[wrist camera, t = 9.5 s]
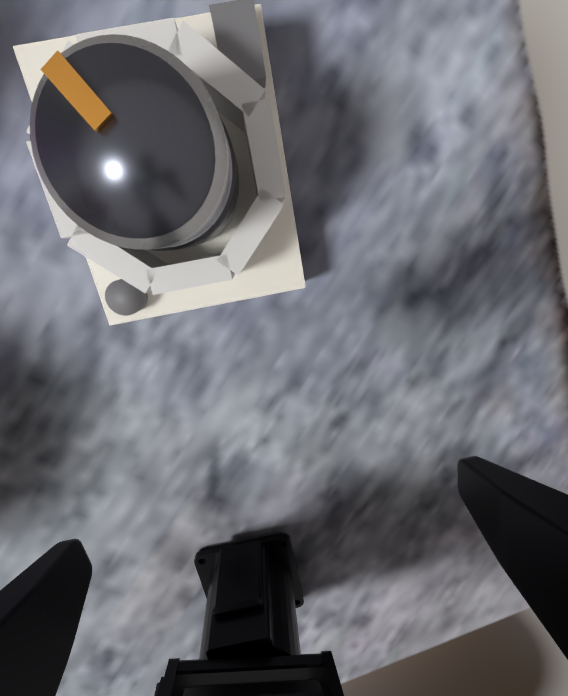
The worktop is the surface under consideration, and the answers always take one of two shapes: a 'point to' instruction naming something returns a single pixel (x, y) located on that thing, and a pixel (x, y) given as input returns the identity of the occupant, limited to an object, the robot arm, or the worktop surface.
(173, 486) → the worktop surface
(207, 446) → the worktop surface
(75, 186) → the lens
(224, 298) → the mount block
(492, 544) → the robot arm
